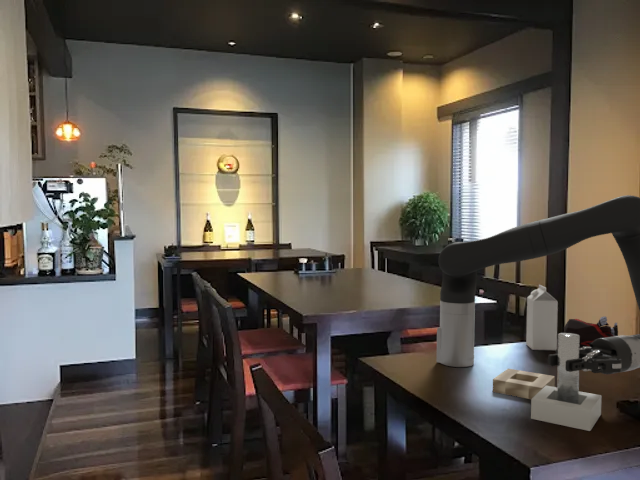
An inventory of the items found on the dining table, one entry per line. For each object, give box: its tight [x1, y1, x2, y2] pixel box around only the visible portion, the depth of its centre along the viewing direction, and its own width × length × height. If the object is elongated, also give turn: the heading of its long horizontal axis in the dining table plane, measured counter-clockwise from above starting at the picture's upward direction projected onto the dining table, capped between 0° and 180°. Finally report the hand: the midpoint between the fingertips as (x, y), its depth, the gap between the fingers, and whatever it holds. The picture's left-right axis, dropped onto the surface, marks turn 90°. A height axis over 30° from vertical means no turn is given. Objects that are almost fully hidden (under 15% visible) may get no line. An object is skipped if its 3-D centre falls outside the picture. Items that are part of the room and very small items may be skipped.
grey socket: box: [530, 386, 602, 432], centre depth 116 cm, size 11×11×4 cm
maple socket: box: [492, 368, 556, 400], centre depth 133 cm, size 11×11×3 cm
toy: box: [563, 316, 619, 348], centre depth 175 cm, size 12×9×15 cm
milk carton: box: [525, 284, 559, 351], centre depth 173 cm, size 7×7×19 cm
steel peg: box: [556, 332, 580, 404], centre depth 115 cm, size 4×4×14 cm
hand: (558, 363), depth 114 cm, fingers closed on steel peg, 4 cm apart
